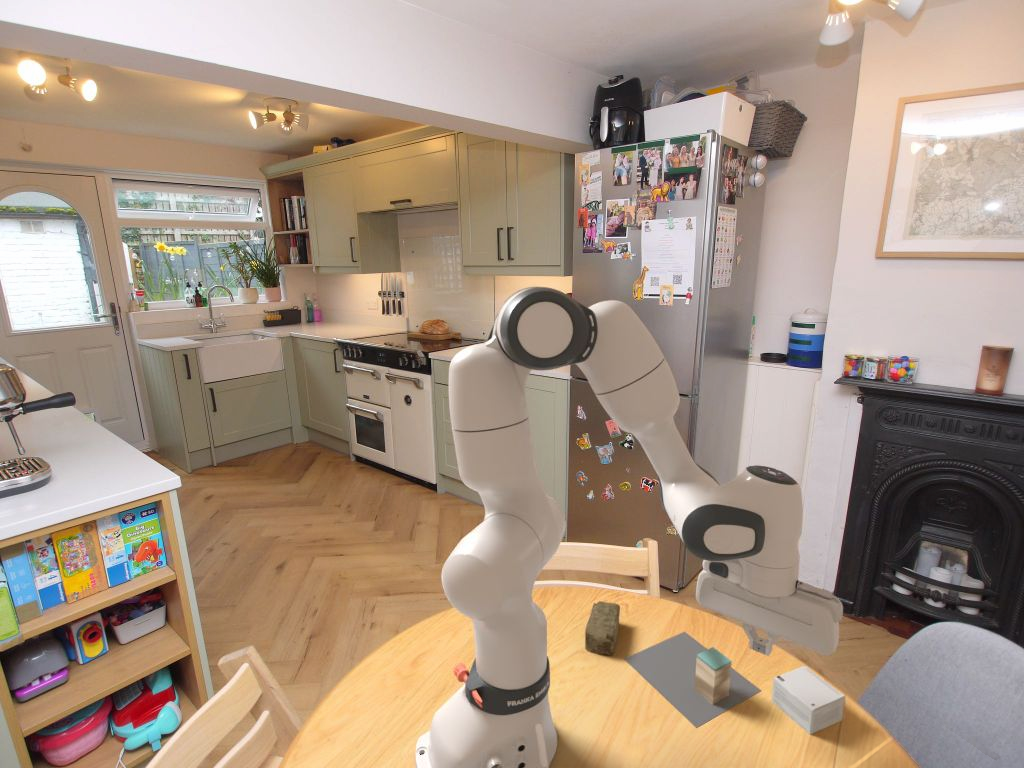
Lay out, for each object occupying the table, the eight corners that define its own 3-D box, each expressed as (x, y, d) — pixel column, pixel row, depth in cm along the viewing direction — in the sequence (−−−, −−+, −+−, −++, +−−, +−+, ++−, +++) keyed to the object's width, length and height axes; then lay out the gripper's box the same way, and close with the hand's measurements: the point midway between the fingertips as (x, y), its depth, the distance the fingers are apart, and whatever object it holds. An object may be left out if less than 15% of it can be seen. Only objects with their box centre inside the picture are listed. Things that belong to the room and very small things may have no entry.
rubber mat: (696, 729, 86) (696, 727, 86) (623, 660, 102) (623, 658, 101) (761, 692, 93) (761, 690, 93) (684, 633, 109) (684, 631, 109)
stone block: (620, 623, 113) (620, 602, 112) (613, 660, 102) (614, 637, 101) (593, 618, 114) (593, 597, 113) (583, 654, 104) (584, 632, 103)
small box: (843, 722, 87) (847, 695, 86) (809, 738, 84) (812, 711, 83) (802, 688, 94) (805, 664, 93) (769, 702, 91) (771, 677, 90)
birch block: (712, 704, 90) (715, 669, 89) (694, 689, 94) (696, 654, 92) (728, 695, 92) (731, 661, 91) (710, 680, 96) (712, 646, 94)
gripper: (849, 586, 76) (841, 670, 79) (708, 542, 90) (706, 615, 92) (839, 606, 71) (830, 695, 74) (693, 557, 85) (690, 633, 88)
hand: (760, 650), depth 83 cm, fingers closed
